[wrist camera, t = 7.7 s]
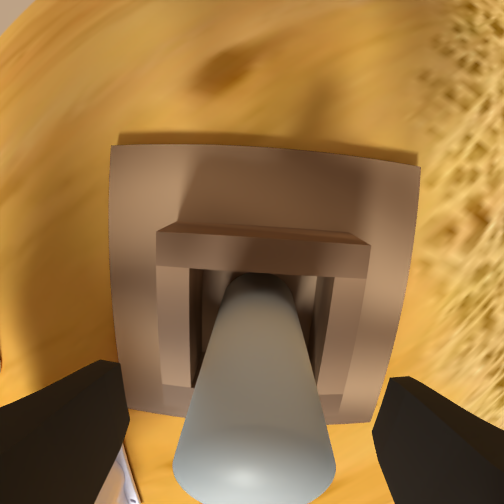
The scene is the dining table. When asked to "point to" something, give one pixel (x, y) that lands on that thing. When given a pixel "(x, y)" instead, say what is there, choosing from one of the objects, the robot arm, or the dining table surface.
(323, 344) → the socket block
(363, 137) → the dining table surface
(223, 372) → the peg
